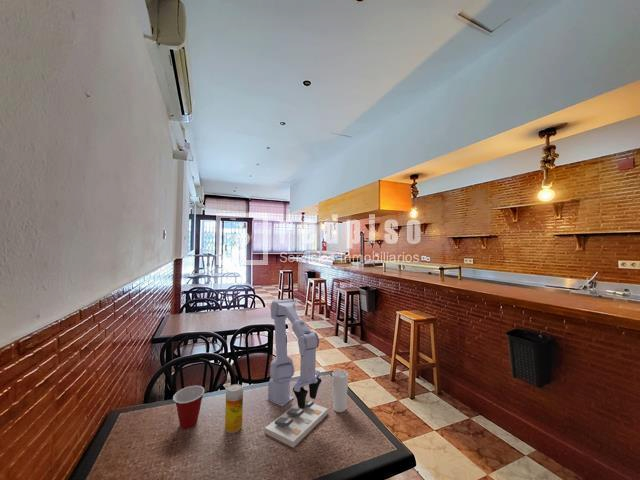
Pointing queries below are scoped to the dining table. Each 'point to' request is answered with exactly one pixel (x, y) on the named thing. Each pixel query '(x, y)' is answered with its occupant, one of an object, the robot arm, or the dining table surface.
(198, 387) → the plastic cup
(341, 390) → the drinking glass
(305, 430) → the switch panel
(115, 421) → the dining table surface
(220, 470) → the dining table surface
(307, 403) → the block
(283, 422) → the block
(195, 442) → the dining table surface
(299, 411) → the block
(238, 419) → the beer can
